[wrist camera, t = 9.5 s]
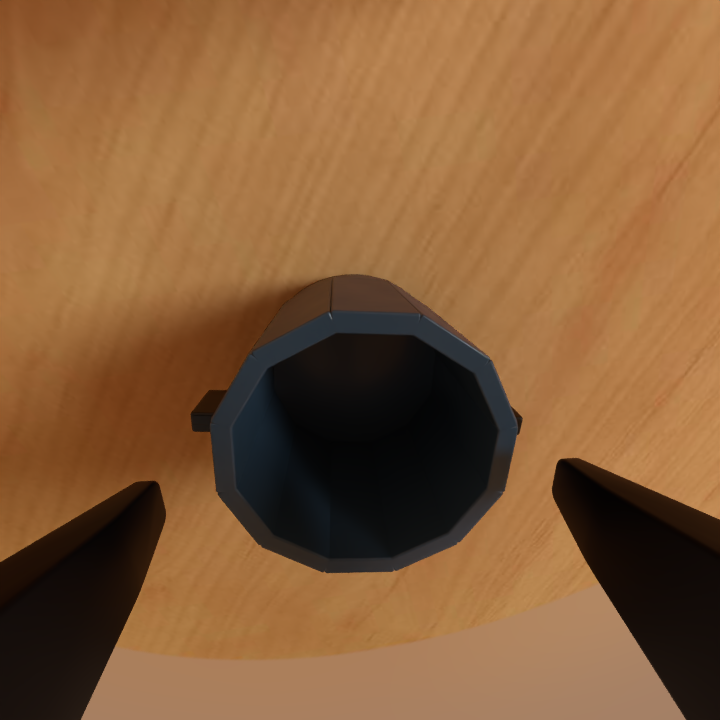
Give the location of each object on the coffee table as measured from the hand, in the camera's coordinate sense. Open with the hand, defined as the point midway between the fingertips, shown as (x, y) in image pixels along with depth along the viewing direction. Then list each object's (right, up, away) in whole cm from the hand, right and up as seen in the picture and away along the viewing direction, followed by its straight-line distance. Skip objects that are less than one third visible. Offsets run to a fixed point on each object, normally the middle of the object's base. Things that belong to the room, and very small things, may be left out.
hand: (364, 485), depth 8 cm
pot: (0, -2, +5) cm, 5 cm away
